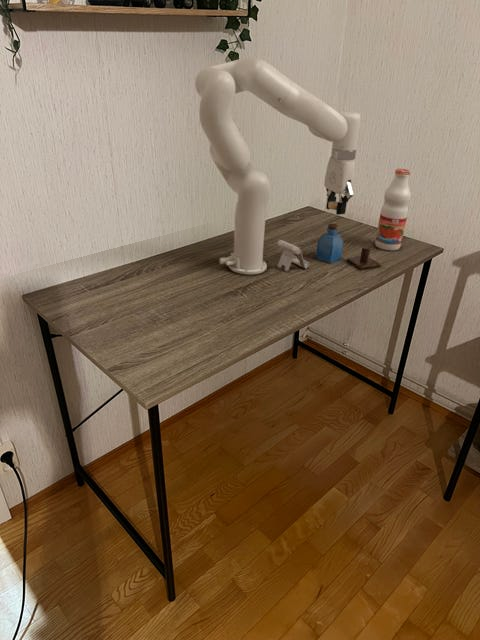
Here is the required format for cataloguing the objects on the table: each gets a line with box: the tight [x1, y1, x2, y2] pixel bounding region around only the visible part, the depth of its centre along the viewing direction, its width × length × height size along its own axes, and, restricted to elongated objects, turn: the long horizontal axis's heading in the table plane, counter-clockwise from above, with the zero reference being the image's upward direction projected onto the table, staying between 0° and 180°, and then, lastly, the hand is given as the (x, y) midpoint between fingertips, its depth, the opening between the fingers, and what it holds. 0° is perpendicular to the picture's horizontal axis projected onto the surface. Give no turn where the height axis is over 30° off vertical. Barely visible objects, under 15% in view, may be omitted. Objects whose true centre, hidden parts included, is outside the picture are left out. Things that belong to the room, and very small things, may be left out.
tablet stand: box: [277, 239, 310, 272], centre depth 162 cm, size 9×8×8 cm
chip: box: [328, 200, 339, 211], centre depth 162 cm, size 5×5×1 cm
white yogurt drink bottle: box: [374, 168, 412, 251], centre depth 177 cm, size 9×9×28 cm
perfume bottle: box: [315, 223, 344, 264], centre depth 168 cm, size 6×6×12 cm
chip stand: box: [346, 245, 381, 271], centre depth 167 cm, size 8×8×6 cm
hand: (335, 210), depth 163 cm, fingers closed on chip, 5 cm apart
